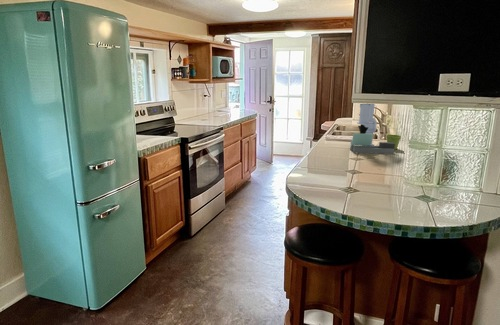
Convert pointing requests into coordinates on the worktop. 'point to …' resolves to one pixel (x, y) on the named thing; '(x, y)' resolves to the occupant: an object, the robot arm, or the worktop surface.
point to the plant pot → (393, 139)
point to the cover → (361, 139)
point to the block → (386, 145)
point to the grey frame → (371, 149)
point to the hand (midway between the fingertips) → (362, 137)
